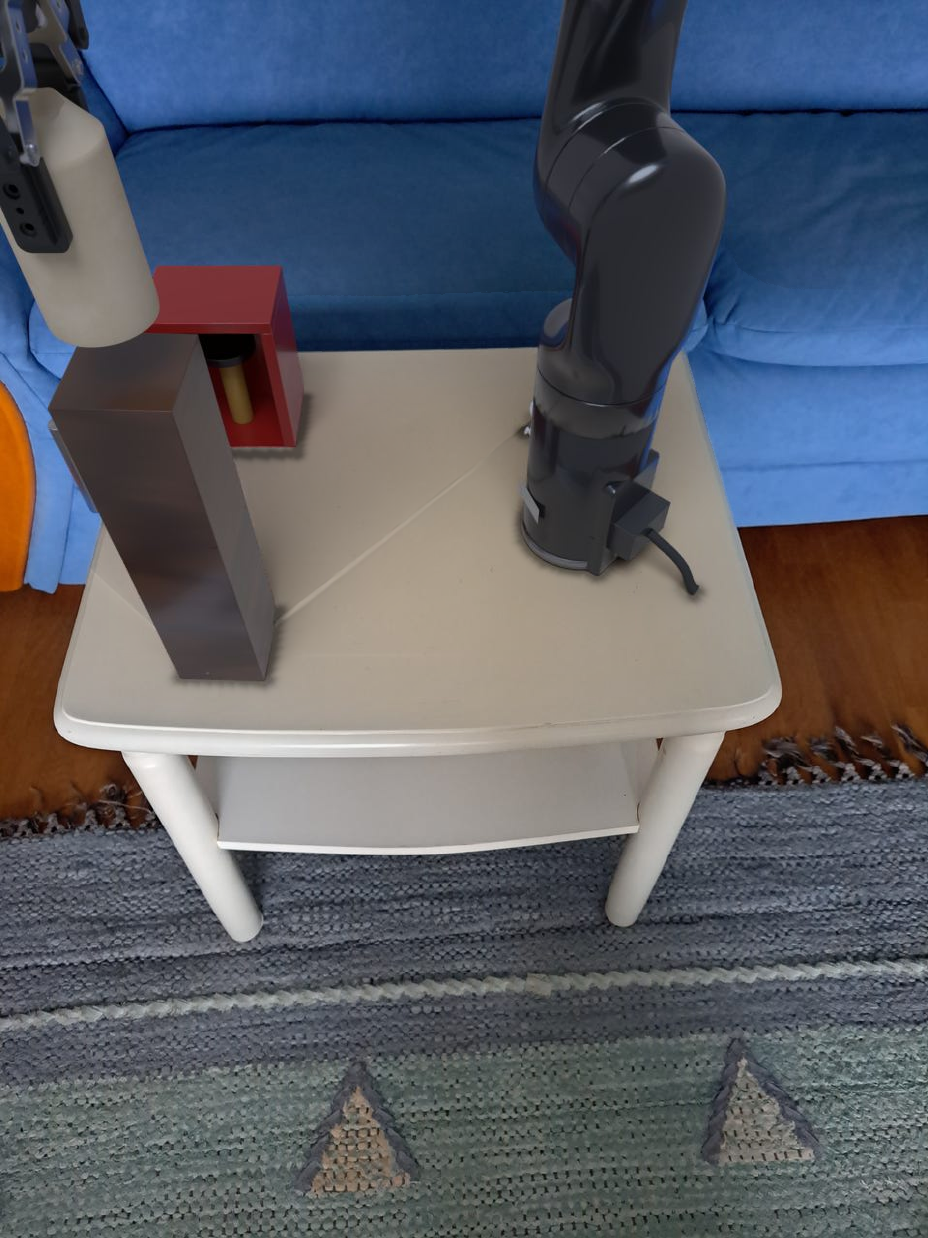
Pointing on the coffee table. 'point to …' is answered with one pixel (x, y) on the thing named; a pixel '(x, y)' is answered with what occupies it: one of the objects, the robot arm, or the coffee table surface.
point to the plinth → (171, 498)
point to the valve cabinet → (240, 308)
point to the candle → (86, 234)
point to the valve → (231, 369)
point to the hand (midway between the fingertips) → (66, 208)
